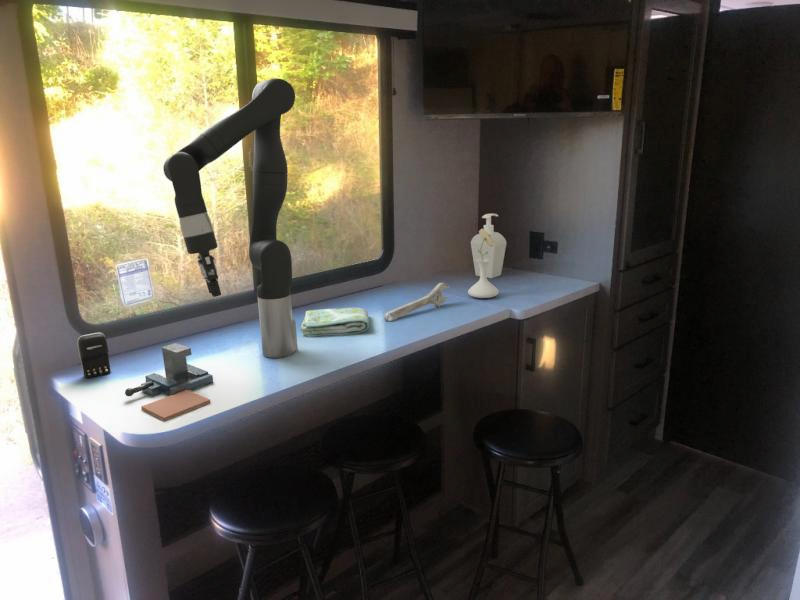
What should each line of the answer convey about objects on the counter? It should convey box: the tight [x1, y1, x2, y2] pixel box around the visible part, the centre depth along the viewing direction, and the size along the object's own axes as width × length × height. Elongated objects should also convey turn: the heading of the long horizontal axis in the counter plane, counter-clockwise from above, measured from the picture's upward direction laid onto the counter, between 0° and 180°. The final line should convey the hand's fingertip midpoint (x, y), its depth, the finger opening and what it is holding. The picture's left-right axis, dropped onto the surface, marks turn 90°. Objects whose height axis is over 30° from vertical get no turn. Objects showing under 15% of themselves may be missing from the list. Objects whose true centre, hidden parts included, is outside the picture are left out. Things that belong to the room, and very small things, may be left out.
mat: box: [140, 390, 211, 422], centre depth 148 cm, size 12×10×1 cm
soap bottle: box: [470, 213, 507, 279], centre depth 263 cm, size 12×10×26 cm
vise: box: [124, 363, 214, 397], centre depth 158 cm, size 20×13×3 cm, turn 140°
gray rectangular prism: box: [161, 342, 192, 385], centre depth 160 cm, size 4×7×10 cm, turn 50°
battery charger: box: [76, 332, 112, 379], centre depth 168 cm, size 7×4×11 cm, turn 124°
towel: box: [300, 307, 370, 337], centre depth 203 cm, size 18×21×5 cm
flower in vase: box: [467, 228, 499, 299], centre depth 231 cm, size 13×11×25 cm
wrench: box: [383, 282, 451, 322], centre depth 216 cm, size 8×2×30 cm
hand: (215, 294), depth 162 cm, fingers open, 8 cm apart
